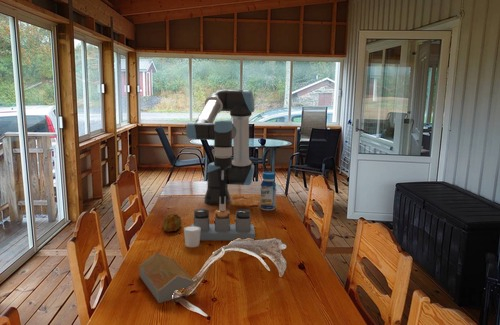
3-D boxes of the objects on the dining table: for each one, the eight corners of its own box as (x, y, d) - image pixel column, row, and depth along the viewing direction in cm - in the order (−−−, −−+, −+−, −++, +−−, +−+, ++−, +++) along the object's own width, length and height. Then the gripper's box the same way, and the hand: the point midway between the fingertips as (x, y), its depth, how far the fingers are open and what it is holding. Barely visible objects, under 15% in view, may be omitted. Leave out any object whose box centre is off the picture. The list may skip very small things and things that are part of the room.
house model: (197, 294, 120) (197, 271, 119) (157, 304, 114) (157, 280, 112) (174, 269, 137) (173, 249, 136) (138, 277, 131) (138, 256, 129)
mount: (191, 230, 176) (191, 212, 174) (253, 230, 177) (253, 212, 176) (188, 240, 164) (188, 220, 163) (255, 240, 165) (255, 221, 164)
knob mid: (215, 224, 173) (215, 208, 172) (229, 224, 173) (229, 208, 172) (214, 229, 167) (214, 213, 165) (229, 229, 167) (229, 213, 166)
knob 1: (195, 224, 173) (194, 208, 171) (209, 224, 173) (209, 208, 172) (193, 229, 166) (193, 212, 165) (208, 229, 167) (208, 213, 165)
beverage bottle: (278, 209, 212) (279, 173, 209) (266, 211, 207) (267, 174, 204) (269, 205, 219) (270, 170, 216) (257, 207, 214) (257, 172, 211)
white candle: (194, 240, 164) (194, 224, 163) (204, 245, 159) (204, 228, 158) (180, 244, 159) (180, 228, 158) (190, 249, 154) (190, 232, 153)
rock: (161, 237, 178) (163, 218, 184) (179, 239, 180) (180, 219, 186) (164, 227, 169) (165, 207, 175) (183, 229, 171) (184, 209, 177)
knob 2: (235, 224, 173) (235, 208, 172) (249, 225, 174) (250, 209, 173) (235, 229, 167) (236, 213, 166) (250, 229, 168) (250, 213, 166)
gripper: (214, 154, 171) (214, 206, 175) (213, 159, 158) (213, 214, 162) (231, 154, 171) (231, 206, 175) (231, 159, 159) (231, 215, 162)
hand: (222, 210), depth 169 cm, fingers closed
